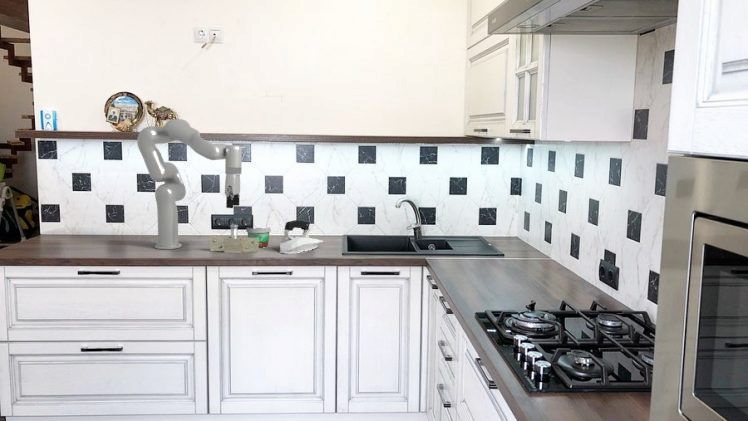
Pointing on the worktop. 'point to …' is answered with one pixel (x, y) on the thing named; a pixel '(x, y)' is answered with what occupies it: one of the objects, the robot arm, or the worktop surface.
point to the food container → (259, 235)
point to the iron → (297, 239)
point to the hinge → (234, 244)
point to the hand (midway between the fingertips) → (232, 206)
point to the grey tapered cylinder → (233, 231)
